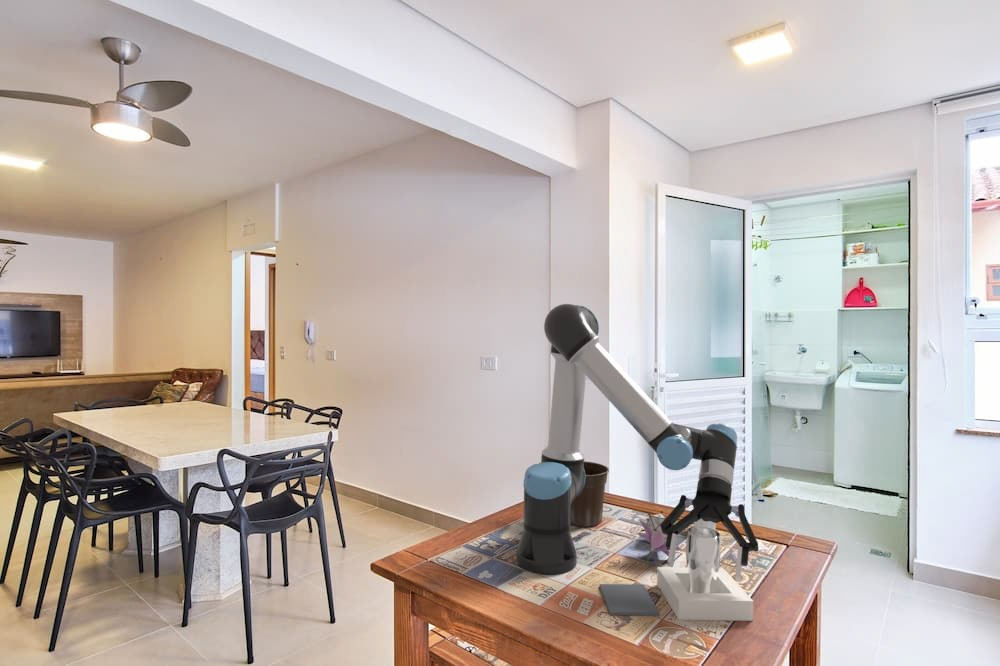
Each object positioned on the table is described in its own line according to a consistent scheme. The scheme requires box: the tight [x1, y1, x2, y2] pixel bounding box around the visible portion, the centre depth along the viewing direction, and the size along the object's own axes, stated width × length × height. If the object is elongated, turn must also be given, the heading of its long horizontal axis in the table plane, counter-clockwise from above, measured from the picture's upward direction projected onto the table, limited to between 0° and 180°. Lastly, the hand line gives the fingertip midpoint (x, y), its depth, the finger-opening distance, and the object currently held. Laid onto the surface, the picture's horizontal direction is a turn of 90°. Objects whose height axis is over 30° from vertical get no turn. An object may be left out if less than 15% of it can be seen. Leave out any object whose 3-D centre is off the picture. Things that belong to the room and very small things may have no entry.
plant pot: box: [570, 460, 610, 528], centre depth 165 cm, size 16×16×16 cm
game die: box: [640, 510, 668, 540], centre depth 149 cm, size 9×8×10 cm
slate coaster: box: [599, 583, 660, 616], centre depth 117 cm, size 10×12×1 cm
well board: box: [656, 566, 755, 622], centre depth 117 cm, size 15×15×4 cm
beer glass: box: [685, 526, 721, 593], centre depth 117 cm, size 7×7×15 cm
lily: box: [636, 519, 683, 565], centre depth 137 cm, size 12×12×10 cm
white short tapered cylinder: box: [692, 506, 717, 531], centre depth 158 cm, size 7×7×7 cm
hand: (703, 571), depth 115 cm, fingers open, 13 cm apart
